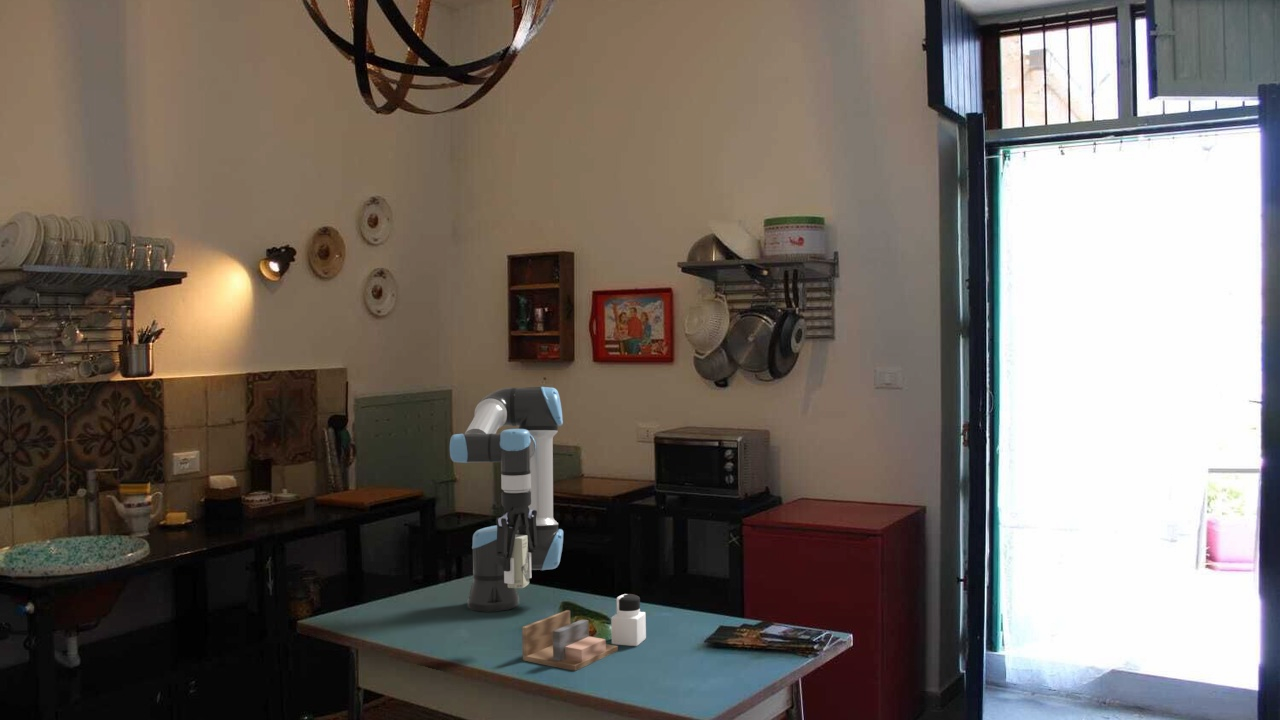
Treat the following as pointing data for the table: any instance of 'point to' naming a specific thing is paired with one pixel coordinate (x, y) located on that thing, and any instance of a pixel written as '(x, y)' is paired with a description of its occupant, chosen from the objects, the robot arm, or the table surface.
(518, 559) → the box
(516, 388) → the robot arm
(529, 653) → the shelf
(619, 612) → the medicine bottle
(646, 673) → the table surface
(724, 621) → the table surface
